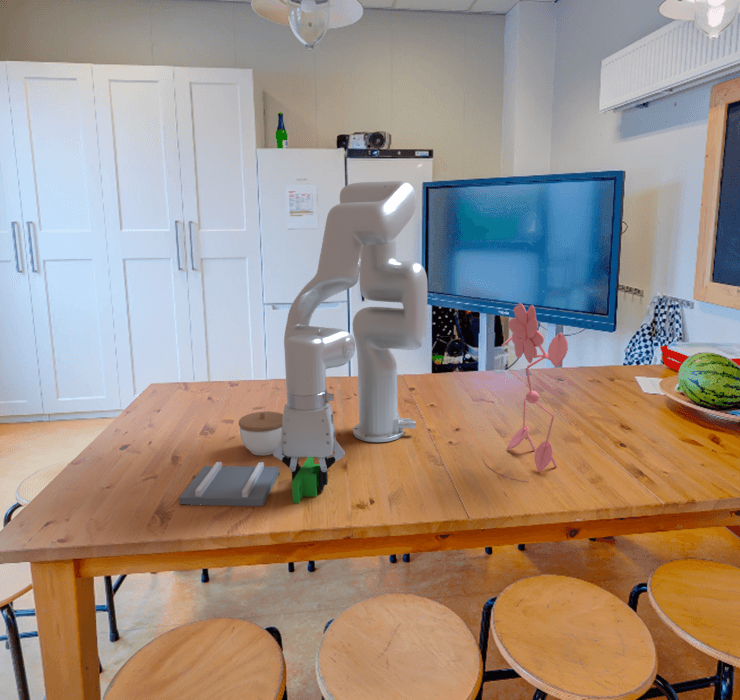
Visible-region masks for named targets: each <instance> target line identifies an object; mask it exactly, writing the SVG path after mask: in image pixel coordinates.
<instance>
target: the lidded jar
mask: <svg viewBox="0 0 740 700" xmlns="http://www.w3.org/2000/svg"><path fill="white" fill-rule="evenodd" d="M282 418H283V413H281V412H278V411H258V412H257V411H255V412H252V413H248V414H246V415H244V416H241V417H240V419H239V420H238V426H239V434H240V438H241V441H242V443H243V446H245V448H246V449H247V450H248V451H250V452H251V454H252V455H254V456H263V457H264V456H270V455H273V453H274V451H275V449H276V448H277V446H278V445H279V443H280V442H281V437H282Z"/></svg>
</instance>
